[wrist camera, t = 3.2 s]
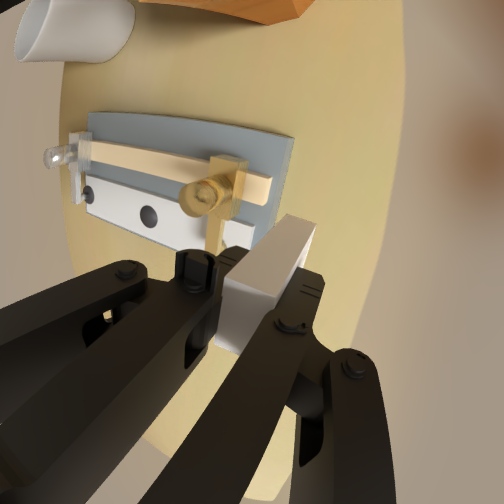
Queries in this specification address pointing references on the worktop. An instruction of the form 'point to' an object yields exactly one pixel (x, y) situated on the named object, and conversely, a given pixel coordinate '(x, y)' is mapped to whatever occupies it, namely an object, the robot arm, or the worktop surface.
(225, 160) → the brass slider pointer
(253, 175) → the board
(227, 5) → the potted plant
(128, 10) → the mug
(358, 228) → the worktop surface
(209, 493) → the robot arm
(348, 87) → the worktop surface
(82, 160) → the fixed leg
